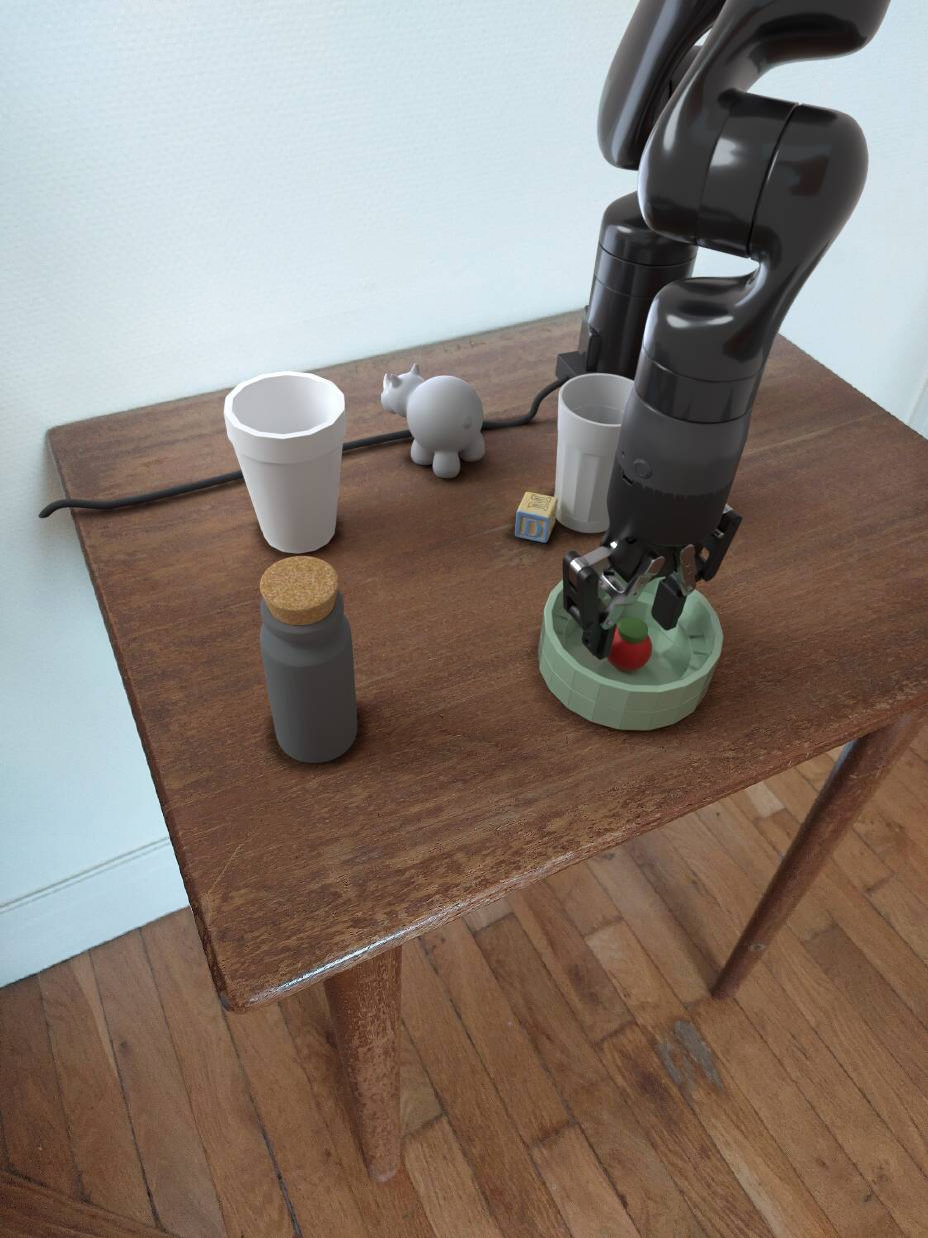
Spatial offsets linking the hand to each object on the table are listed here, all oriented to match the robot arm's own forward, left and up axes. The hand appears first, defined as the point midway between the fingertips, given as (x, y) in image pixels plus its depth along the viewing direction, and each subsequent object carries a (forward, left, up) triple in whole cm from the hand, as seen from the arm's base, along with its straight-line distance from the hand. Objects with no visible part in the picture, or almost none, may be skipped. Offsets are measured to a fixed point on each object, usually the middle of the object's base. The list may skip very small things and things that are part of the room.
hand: (629, 636), depth 69 cm
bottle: (-23, -7, -4) cm, 24 cm away
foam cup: (-27, +15, -4) cm, 31 cm away
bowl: (0, 0, -4) cm, 4 cm away
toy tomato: (0, 0, -3) cm, 3 cm away
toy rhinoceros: (-16, +28, -4) cm, 32 cm away
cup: (-1, +19, -4) cm, 19 cm away
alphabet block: (-6, +16, -4) cm, 18 cm away
